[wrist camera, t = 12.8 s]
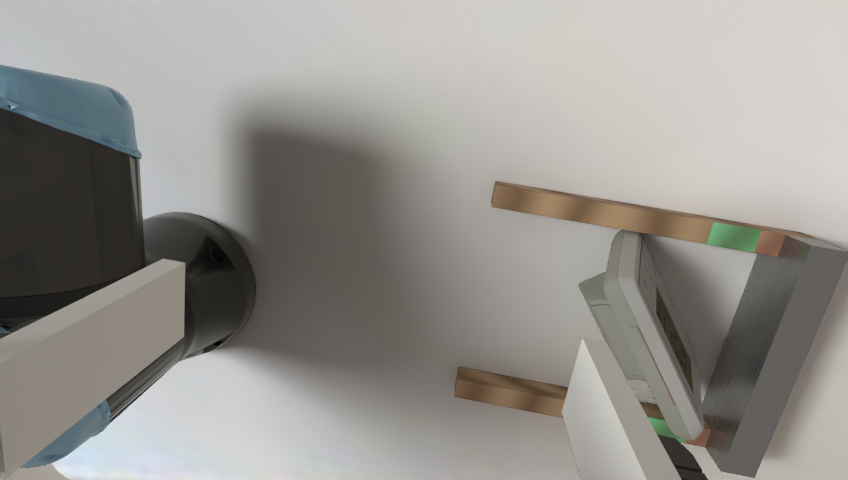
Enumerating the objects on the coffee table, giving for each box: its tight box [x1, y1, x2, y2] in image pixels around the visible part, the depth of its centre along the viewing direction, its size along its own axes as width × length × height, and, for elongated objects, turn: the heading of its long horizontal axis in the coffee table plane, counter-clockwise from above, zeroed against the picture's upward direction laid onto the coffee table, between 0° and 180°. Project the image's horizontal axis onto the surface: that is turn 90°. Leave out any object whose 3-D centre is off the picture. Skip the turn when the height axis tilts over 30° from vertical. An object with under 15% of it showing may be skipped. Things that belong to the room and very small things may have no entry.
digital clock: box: [579, 230, 704, 440], centre depth 42 cm, size 16×9×11 cm, turn 17°
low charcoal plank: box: [702, 234, 848, 478], centre depth 44 cm, size 3×22×6 cm, turn 171°
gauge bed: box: [454, 181, 819, 447], centre depth 46 cm, size 28×22×3 cm
